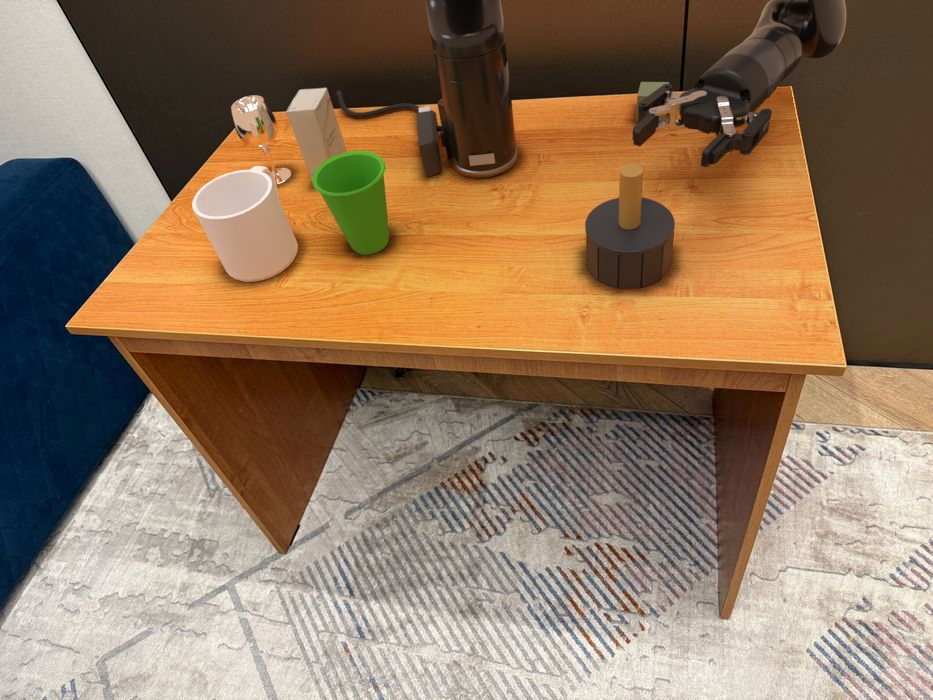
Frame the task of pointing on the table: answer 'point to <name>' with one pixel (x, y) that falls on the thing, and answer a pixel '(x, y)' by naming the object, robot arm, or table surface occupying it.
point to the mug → (246, 224)
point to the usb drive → (429, 140)
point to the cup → (356, 198)
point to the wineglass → (258, 129)
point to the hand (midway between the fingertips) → (669, 149)
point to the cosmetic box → (315, 127)
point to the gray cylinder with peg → (629, 236)
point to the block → (648, 93)
